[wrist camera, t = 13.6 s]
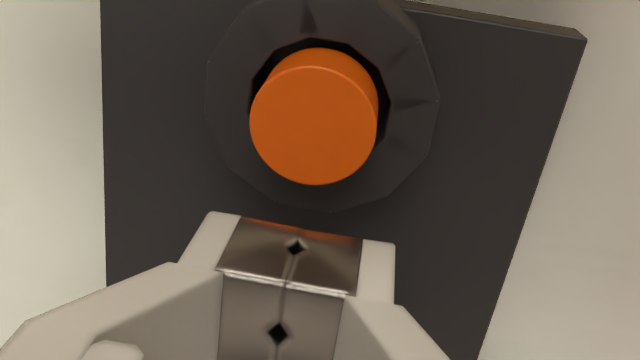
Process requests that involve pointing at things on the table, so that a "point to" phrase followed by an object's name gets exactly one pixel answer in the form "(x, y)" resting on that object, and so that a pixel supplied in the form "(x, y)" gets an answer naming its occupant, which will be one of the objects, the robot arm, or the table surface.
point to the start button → (315, 116)
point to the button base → (380, 167)
